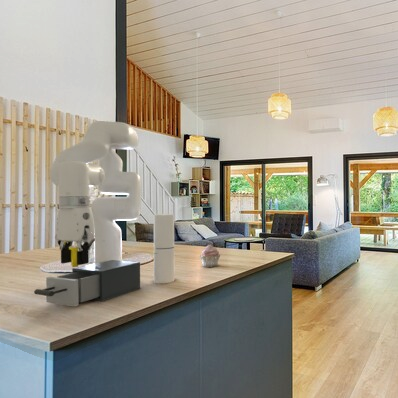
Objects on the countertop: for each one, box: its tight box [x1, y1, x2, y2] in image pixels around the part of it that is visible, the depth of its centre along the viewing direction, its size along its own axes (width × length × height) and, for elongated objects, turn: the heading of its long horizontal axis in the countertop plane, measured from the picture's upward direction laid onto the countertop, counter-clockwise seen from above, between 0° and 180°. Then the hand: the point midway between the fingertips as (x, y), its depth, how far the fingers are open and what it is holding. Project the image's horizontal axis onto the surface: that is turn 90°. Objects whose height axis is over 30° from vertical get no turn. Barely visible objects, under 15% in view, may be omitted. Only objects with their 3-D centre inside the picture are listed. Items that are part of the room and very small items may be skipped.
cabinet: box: [71, 260, 141, 302], centre depth 107 cm, size 15×13×9 cm
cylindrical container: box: [153, 213, 175, 284], centre depth 121 cm, size 7×7×25 cm
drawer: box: [33, 272, 100, 307], centre depth 96 cm, size 18×11×7 cm, turn 161°
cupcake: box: [199, 243, 221, 268], centre depth 147 cm, size 9×9×10 cm
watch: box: [69, 245, 79, 268], centre depth 96 cm, size 6×3×6 cm, turn 40°
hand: (74, 262), depth 96 cm, fingers closed on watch, 5 cm apart
